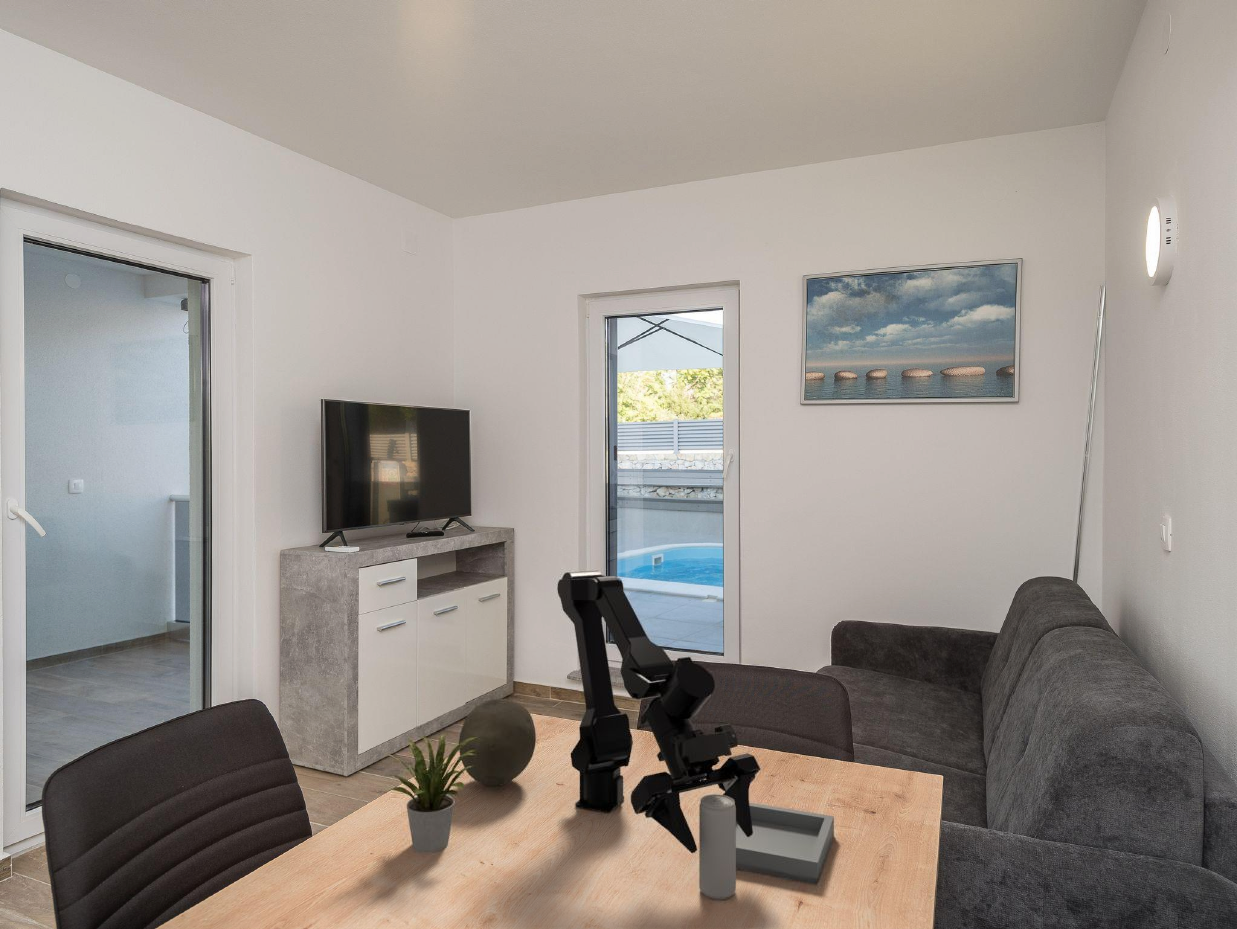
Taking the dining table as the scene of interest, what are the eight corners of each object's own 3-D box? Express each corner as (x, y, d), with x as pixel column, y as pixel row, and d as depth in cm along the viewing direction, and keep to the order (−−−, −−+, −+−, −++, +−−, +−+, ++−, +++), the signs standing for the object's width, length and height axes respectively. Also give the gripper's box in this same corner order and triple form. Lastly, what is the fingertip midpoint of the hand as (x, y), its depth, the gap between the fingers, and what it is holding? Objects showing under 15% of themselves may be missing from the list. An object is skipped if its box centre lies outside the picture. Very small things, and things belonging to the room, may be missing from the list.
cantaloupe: (440, 787, 142) (441, 702, 142) (501, 765, 152) (501, 686, 153) (492, 808, 132) (493, 717, 133) (553, 784, 143) (554, 700, 143)
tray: (703, 862, 114) (703, 841, 114) (732, 818, 129) (732, 799, 129) (817, 885, 108) (817, 862, 108) (833, 835, 123) (833, 816, 123)
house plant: (504, 831, 124) (504, 726, 124) (457, 873, 111) (458, 755, 111) (424, 818, 129) (424, 716, 129) (370, 857, 115) (371, 743, 116)
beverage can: (734, 903, 103) (734, 810, 104) (697, 899, 104) (697, 806, 104) (736, 884, 108) (736, 795, 108) (701, 881, 109) (701, 792, 109)
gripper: (641, 716, 105) (690, 832, 96) (751, 696, 115) (806, 800, 105) (611, 758, 112) (654, 870, 102) (718, 736, 121) (766, 837, 112)
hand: (723, 843), depth 105 cm, fingers open, 9 cm apart
